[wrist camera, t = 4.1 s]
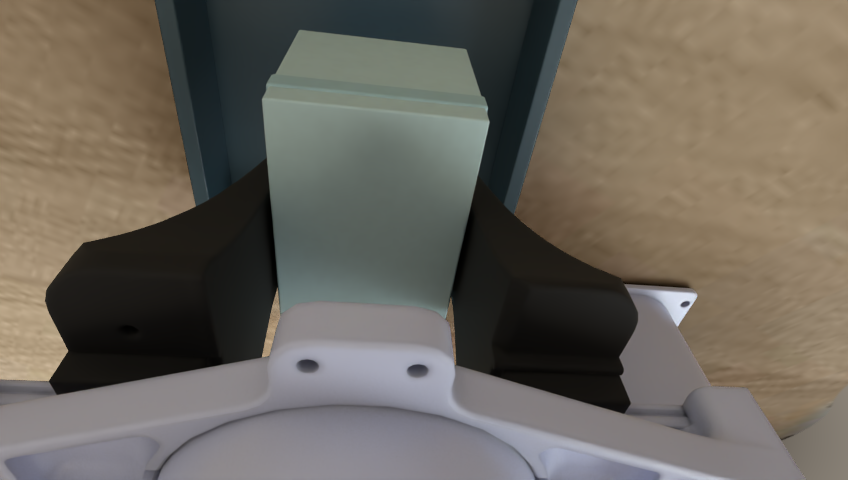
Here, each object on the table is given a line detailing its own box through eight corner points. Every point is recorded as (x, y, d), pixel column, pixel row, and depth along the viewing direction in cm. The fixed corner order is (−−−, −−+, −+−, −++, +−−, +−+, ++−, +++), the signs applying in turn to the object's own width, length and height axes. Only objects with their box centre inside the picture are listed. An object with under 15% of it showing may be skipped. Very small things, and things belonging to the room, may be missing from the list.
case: (430, 267, 18) (437, 366, 15) (305, 258, 18) (281, 359, 14) (468, 46, 13) (493, 119, 10) (296, 26, 13) (257, 95, 9)
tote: (487, 223, 26) (498, 268, 23) (225, 203, 24) (203, 249, 21) (564, -73, 17) (595, -57, 15) (174, -131, 16) (128, -125, 13)
